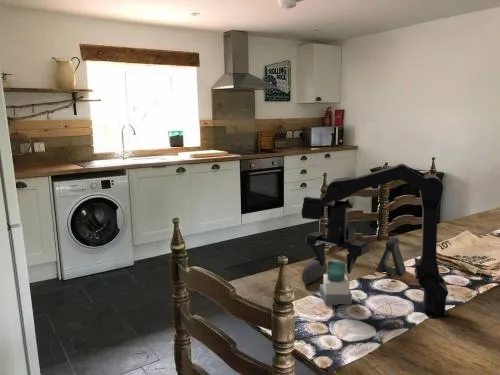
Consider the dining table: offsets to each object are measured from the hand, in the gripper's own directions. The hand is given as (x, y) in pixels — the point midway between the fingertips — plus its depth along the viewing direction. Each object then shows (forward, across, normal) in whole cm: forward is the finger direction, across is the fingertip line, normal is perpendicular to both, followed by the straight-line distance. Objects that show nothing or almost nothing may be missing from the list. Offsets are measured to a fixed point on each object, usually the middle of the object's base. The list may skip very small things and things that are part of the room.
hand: (335, 269), depth 123 cm
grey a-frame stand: (+10, -5, -32) cm, 34 cm away
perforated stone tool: (+10, +13, -8) cm, 18 cm away
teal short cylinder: (+3, 0, 0) cm, 3 cm away
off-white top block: (+6, 0, 0) cm, 6 cm away
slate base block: (+10, 0, 0) cm, 10 cm away
